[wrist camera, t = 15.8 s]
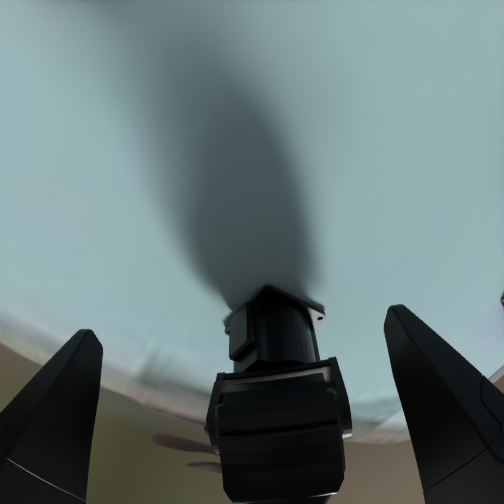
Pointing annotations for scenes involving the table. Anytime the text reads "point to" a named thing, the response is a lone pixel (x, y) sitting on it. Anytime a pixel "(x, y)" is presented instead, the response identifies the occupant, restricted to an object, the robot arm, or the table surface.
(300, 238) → the table surface
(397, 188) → the table surface
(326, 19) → the table surface
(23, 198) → the table surface
